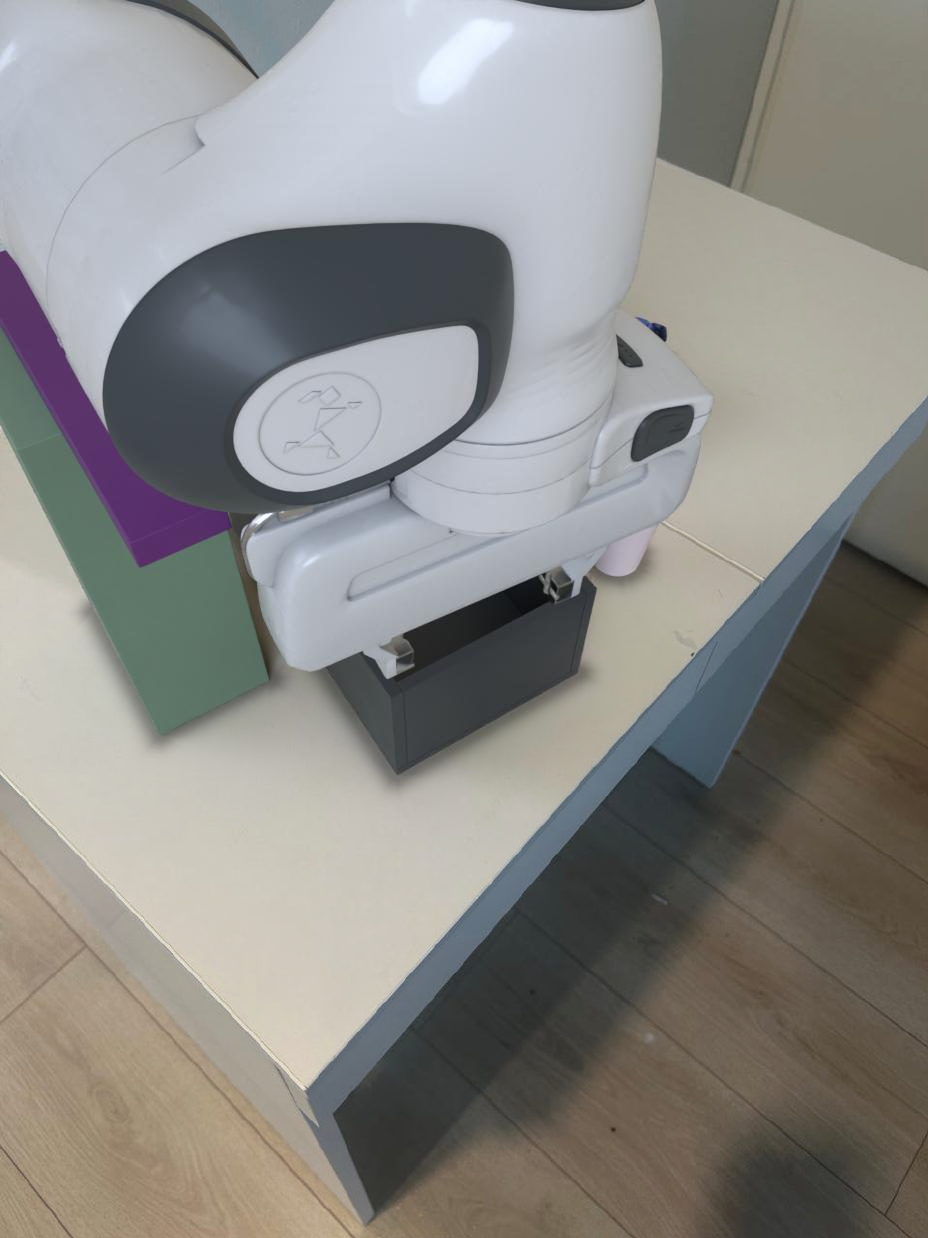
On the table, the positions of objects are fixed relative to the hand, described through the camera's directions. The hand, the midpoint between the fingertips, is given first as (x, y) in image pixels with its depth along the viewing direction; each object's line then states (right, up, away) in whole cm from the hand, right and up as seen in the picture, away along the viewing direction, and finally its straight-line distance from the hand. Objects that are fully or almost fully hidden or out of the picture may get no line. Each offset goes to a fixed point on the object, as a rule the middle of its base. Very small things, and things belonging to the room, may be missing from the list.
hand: (477, 626), depth 47 cm
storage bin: (-6, +2, +22) cm, 22 cm away
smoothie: (+11, +5, +25) cm, 27 cm away
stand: (-21, -1, +19) cm, 28 cm away
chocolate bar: (-18, +10, -5) cm, 21 cm away
